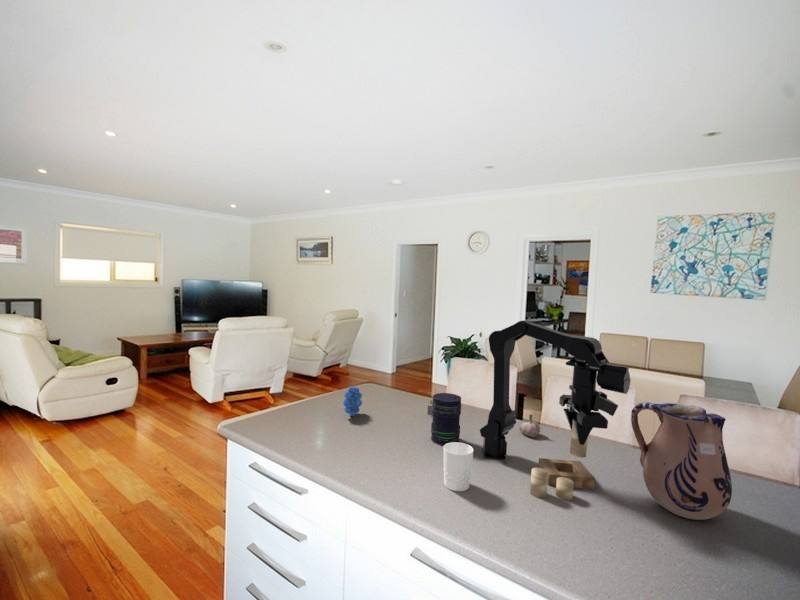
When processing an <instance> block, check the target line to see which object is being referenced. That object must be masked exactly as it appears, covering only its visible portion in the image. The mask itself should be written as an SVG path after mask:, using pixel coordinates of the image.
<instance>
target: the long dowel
mask: <svg viewBox="0 0 800 600" xmlns="http://www.w3.org/2000/svg"><path fill="white" fill-rule="evenodd" d="M570 436H571V437H570V447H569V453H570V455H572V456H574V457H577V458H586V457H587V449H588V440H589V437H588V438H587V440H586V442H585V444H584V445H580V444H579V440H578V437H577V433H576V429H575V425H574V421H573V423H572V431H571V435H570Z"/></svg>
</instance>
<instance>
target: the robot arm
mask: <svg viewBox="0 0 800 600" xmlns="http://www.w3.org/2000/svg"><path fill="white" fill-rule="evenodd" d="M525 336H527V337H530V338H533V339H535V340H538V341H541V342H545V343H546V344H550V345H552V346H555V347H558V348H560V349H562V351H563V350H564V351H565V353H567V354H568V355H570V356H572V357H571V359H569V360H568V361H566V362H565V365H566V366H570V367H573V374H572V383H571V384H569V388H568V389H569V390H570V391H571V394H562V395H561V396H560V397H559V403H558V404H559V405H560V406H561V407H565V406H566V408H563V412H564V414H565V416H566V420H567V422H568V424H569V428H570V430H571V432H572V423H573V421H574V425H575V429H576V433H577V437H578V440H579V444H580V445H584V444H585V442H586V440H587V438H588V439H589V436H590V434H591V432H592V430H593V429H594V428H595V429H606V430H607V429H608V425H609V420H608V419H607V418H606V417H605V415H603V414H602V413H600V411H602V412H604V413H607V414H608V415H609V416H610V417H614V415H615V413H616V411H617V409H618V407H619V405H618V404H617V403H615V402H614V401H613V400H611V399H609V398H608V395H607V394H606V393H605V392H604V391H603V392H602V391H600V390H599V391H598V390H597V389H596V387H597V386H599V387H600V389H602V390H606V391H611V392H614V393H615V392H616V393H620V394H624V395H627V394H628V392H629V389H630V386H631V376H630V375H631V374H630V372H629V371H630V370H629V369H630V368H629V366H627V365H618V364H617V365H616V364H612V363H610V361H609V360H608V358H607V357H606V355H605V354H604V352H603V348H602V344H601V342H600V340H598V339H597V338H595V337H591V336H584V335H577V334H576V335H575V334H570V333H569V334H568V333H566V332H562V331H559V330H555V329H552V328H549V327H546V326H544V325H542V324H539V323H535V322H532V321H531V320H528V319H526V320H519V321H517V322H516V323H514V324H512V325H509V326H508V327H505V328H504V329H503V328H502V329H501V330H494V331H492V332H491V333H490V334H489V336H488V344H489V351H490V353H491V355H492V357H493V403H492V406H491V409H490V411H489V413H488V418H487V423H486V425H484V426H483V427H482V428H480V429H479V433H480V436H481V438H483V441H482V443H483V445H482V447H481V451H482V454H483V458H485V459H495V460H506V459H507V457H506V455H507V449H508V448H507V447H508V442H507V440H506V435H509V433H510V432H509V431H511V430H513V428H515V424H517V420H516V415H517V411H516V410H513V409H512V407H511V406H510V381H511V380H510V370H511V366H510V365H511V358H512V356H513V353H514V351H515V346H516V342H518V341H519V340H520V339H522V338H524V337H525ZM599 410H600V411H599ZM587 441H588V440H587Z"/></svg>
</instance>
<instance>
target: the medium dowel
mask: <svg viewBox="0 0 800 600" xmlns="http://www.w3.org/2000/svg"><path fill="white" fill-rule="evenodd" d="M530 474H531V475H530V487H529V488H530V489H529V493H530V495H531V496H533V497H535V498H537V499H546V498H547V494H548V484H547V480H548V472H547V471H546V470H545V469H542V468H538V467H532V468H531V473H530Z"/></svg>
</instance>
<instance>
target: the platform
mask: <svg viewBox="0 0 800 600" xmlns="http://www.w3.org/2000/svg"><path fill="white" fill-rule="evenodd" d="M432 403H433V398H431V399H429V401H428V402H425V403H424V405H425V406H427V415H430V416H432V417H433V413H432Z"/></svg>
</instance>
